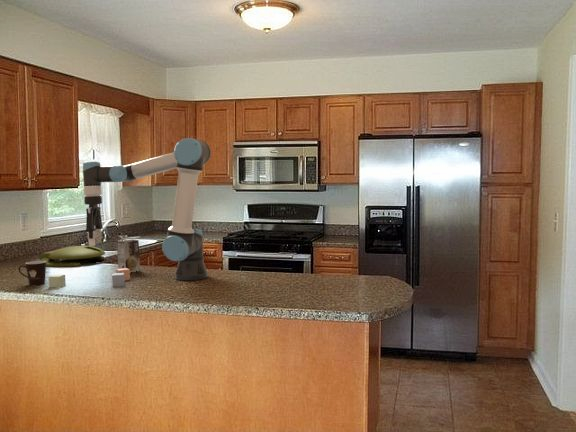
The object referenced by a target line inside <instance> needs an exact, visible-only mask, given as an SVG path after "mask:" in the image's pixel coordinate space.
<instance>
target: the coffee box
mask: <svg viewBox="0 0 576 432" xmlns="http://www.w3.org/2000/svg"><path fill="white" fill-rule="evenodd" d="M116 248H117V249H116V250H117V269H122V268H128V269H130V274H131V272H132V273H136V271H137V272H141V261H140V242H139V240H137V239H125V240H124V239H123V240H118V241H116Z"/></svg>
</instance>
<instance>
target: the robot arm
mask: <svg viewBox="0 0 576 432" xmlns="http://www.w3.org/2000/svg"><path fill="white" fill-rule="evenodd" d="M211 156H212V149H211V146H210V145H209V144H208V143H207V142H205V141H204V140H202V139H196V138H192V137H186V138H182V139H180V140H179V141H178V142H177V143H176V145H175V146H174V149H173V152H170V153H165V154H163V155H162V154H161V155H159V156H156V157H151V158H149V159H145V160H141V161H137V162H133V163H130V164H126V165H119V164H114V165H101V163H100V162H99V161H84V162H83V163H82V175H83V176H82V178H83V188H82V191H83V195H84V197H83V199H84V202H83V203H84V204H85V205H88V207H87V208H85V209H86V210H85V211H86V224H85V226H86V227H85V232H87V233H88V239H87V241H88V246H92V247H96V244H95V231H94V228H95V229H99V228H100V227H101V228H100V230H101V231H102V230H103V229H104V227H103V222H102V221H103V220H102V213H101V208H102V207H101V206H99V205H101V204H102V203H103V197H102V196H101V195H102V192H103V191H102V183H130V182H134V181H136V180H138V179H143V178H145V177H150V176H153V175H156V174H160V173H164V172H168V171H172V170H175V169H176V170H177V171H178V175H177V184H176V192H175V200H174V208H173V215H172V223H171V226H169V227H168V229H167V233H166V238H165V239H164V240H162V241H163V242H162V244H161V250H162V253H163V255H164V256H165V257H166V258H167V259H168V260H170V261H173V262H178V263H177V266H176V270H175V272H174V279H175V280H177V281H197V280H198V281H199V280H203V279H207V278H208V270H207V268H206V264H205V262H204V261H205V260H204V241H203V240H204V235H203V230H201V229H200V228H199V229H198V228H195V229H194V228H193V227H192V225H193V219H194V210H195V205H196V204H195V203H196V196H197V187H198V180H199V175H200V173H202V172H203V170H204V165H205V164H207V163H208V162H209V160H210V159H211ZM101 244H102V241H101Z"/></svg>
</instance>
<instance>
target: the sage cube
mask: <svg viewBox="0 0 576 432" xmlns="http://www.w3.org/2000/svg"><path fill="white" fill-rule="evenodd" d="M66 284H67V283H66V274H52V275H49V276H48V288H49V287H60V288H62V286H63V287H65V286H66Z"/></svg>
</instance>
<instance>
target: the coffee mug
mask: <svg viewBox="0 0 576 432" xmlns="http://www.w3.org/2000/svg"><path fill="white" fill-rule="evenodd" d="M21 268H25V269H26V273H27V275H26V274H24V273H23V272H21ZM17 270H18V272H19V273H20V274H21V275H22V276H23V277H25V278H26V279H28V284H29V286H32V285H35V286H41V285H40V284H42V285H45V284H46V272H47V267H46V261H41V260H37V261H36V260H35V261H28V262H25V265H23V264H22V265H20V266H19V267H18V269H17ZM44 283H45V284H44Z"/></svg>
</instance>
